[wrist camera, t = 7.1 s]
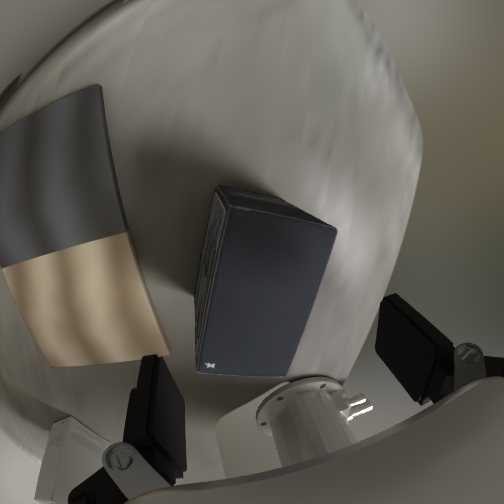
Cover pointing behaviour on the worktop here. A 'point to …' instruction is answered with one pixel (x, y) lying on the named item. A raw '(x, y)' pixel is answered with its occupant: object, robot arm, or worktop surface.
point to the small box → (256, 283)
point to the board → (72, 239)
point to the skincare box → (68, 460)
